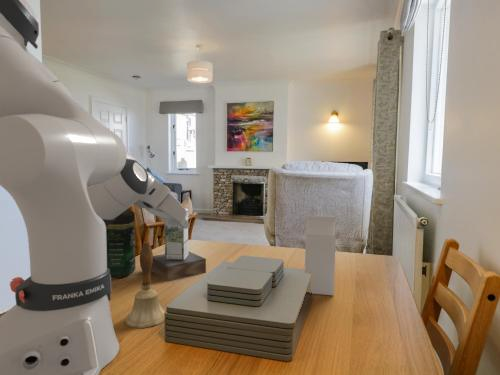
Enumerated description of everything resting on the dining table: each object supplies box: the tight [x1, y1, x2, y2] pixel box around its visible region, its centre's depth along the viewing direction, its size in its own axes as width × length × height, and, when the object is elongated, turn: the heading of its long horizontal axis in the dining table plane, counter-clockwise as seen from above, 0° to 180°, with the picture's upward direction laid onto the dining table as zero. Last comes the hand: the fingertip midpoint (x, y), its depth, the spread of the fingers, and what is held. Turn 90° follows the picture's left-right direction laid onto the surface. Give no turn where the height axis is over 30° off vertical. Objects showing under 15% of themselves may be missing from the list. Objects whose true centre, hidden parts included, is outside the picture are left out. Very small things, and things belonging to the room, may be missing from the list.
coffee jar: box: [106, 208, 137, 279], centre depth 99 cm, size 10×8×19 cm
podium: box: [150, 250, 207, 282], centre depth 102 cm, size 12×12×4 cm
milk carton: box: [304, 214, 337, 296], centre depth 88 cm, size 7×7×19 cm
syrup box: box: [164, 207, 189, 260], centre depth 101 cm, size 6×6×14 cm
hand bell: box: [125, 241, 166, 329], centre depth 71 cm, size 8×8×16 cm
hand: (179, 224), depth 101 cm, fingers open, 8 cm apart
